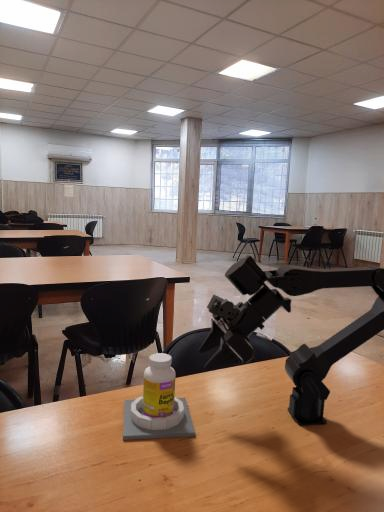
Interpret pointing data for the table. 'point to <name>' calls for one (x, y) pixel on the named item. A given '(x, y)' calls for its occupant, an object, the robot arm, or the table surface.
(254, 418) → the table surface
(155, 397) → the supplement bottle
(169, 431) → the socket plate
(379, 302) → the robot arm
